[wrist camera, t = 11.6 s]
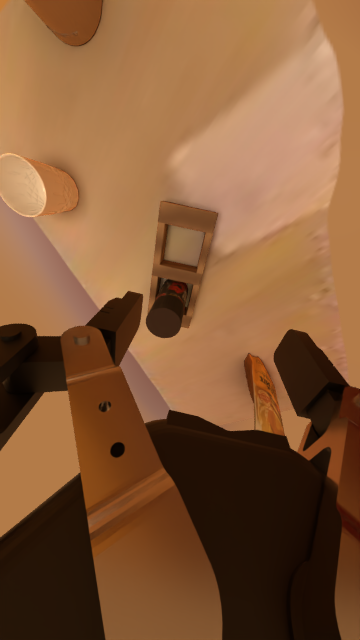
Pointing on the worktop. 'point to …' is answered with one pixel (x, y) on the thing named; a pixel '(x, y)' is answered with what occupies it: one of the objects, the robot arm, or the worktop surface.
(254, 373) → the pancake mix bag
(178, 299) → the deodorant
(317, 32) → the worktop surface
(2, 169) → the white cup
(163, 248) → the wooden divided tray
